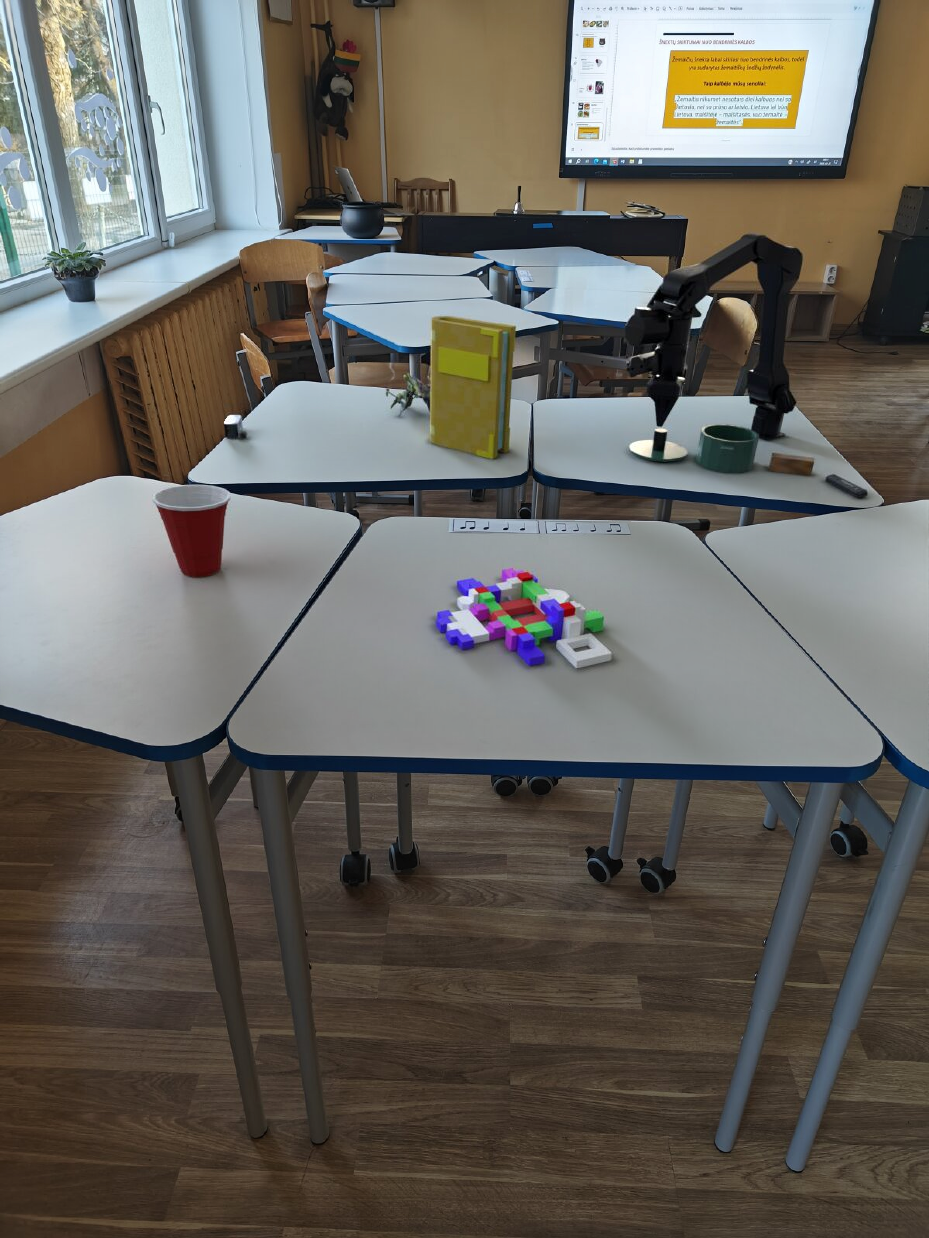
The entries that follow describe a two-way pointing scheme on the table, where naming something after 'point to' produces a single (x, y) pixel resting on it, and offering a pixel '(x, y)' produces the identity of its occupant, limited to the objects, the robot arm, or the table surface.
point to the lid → (658, 448)
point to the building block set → (524, 619)
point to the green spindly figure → (412, 392)
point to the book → (471, 384)
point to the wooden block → (791, 464)
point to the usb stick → (846, 486)
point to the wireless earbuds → (234, 427)
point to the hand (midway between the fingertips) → (661, 420)
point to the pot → (727, 448)
